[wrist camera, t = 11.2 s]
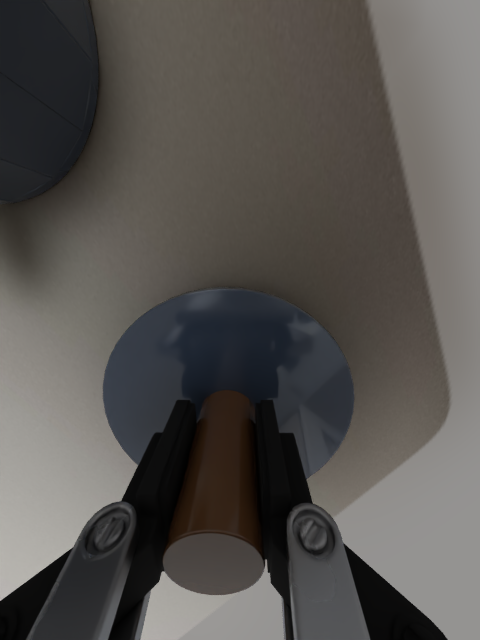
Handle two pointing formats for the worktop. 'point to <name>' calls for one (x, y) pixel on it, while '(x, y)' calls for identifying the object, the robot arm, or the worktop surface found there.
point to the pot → (44, 92)
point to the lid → (226, 415)
